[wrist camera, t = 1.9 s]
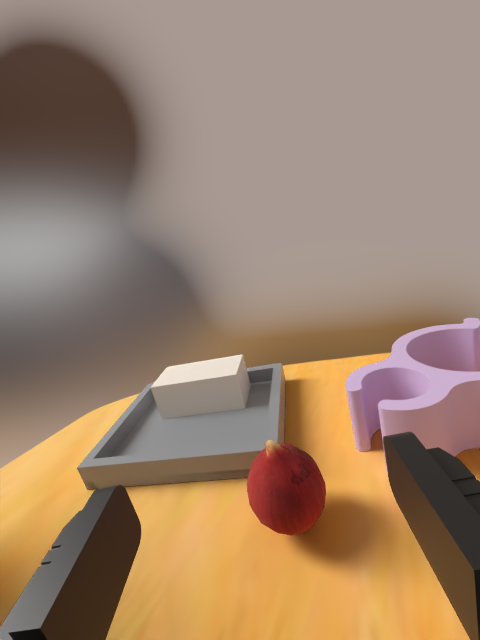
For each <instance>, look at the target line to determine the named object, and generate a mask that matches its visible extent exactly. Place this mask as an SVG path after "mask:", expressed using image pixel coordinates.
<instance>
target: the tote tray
mask: <svg viewBox="0 0 480 640" xmlns="http://www.w3.org/2000/svg"><path fill="white" fill-rule="evenodd" d="M246 369H247V372H248V376H249V380H250V384H251V386H250V390H249V395H248V399H247V403H246V408H245V409H237V410H229V411H221V412H213V413H205V414H197V415H189V416H181V417H173V418H165V419H162V418H161V415H160V412H159V410H158V407H157V404H156V401H155V399H154V396H153V393H152V391H151V388H150V387H151V386H152V385H153V384H154V383H149V384H148V385H147V386H146V387H145V388H144V390H143V391H142V392H141V393H140V394H139V395H138V397H137V398H136V399H135V400H134V401H133V403H132V404H131V405H130V406H129V407H128V408H127V410H126V411H125V412H124V413H123V414H122V415H121V417H120V418H119V419H118V420H117V421H116V423H115V424H114V425H113V426H112V427H111V428H110V430H109V431H108V432H107V433H106V434H105V435H104V437H103V438H102V439H101V440H100V441H99V443H98V444H97V445H96V446H95V447H94V448H93V450H92V451H91V452H90V453H89V454H88V455H87V457H86V458H85V459H84V460H83V461H82V463H81V464H80V465H79V466H78V467H77V469H78V471H79V473H80V475H81V477H82V479H83V482H84V484H85V486H86V488H87V490H88V489H101V488H106V487H111V486H117V485H122V486H124V487H128V486H141V485H154V484H168V483H181V482H194V481H207V480H221V479H234V478H247V477H248V475H249V471H250V467H251V465H252V462H253V461H254V459H255V458H256V457H257V455H258V454H259V453H260V452H261V451H262V450H263V449H265V448H266V446H265V441H267V440H274V441H276V442H277V443H284V431H285V387H286V380H285V375H284V371H283V367H282V363H277V364H270V365H264V366H257V367H251V368H246Z"/></svg>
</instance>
